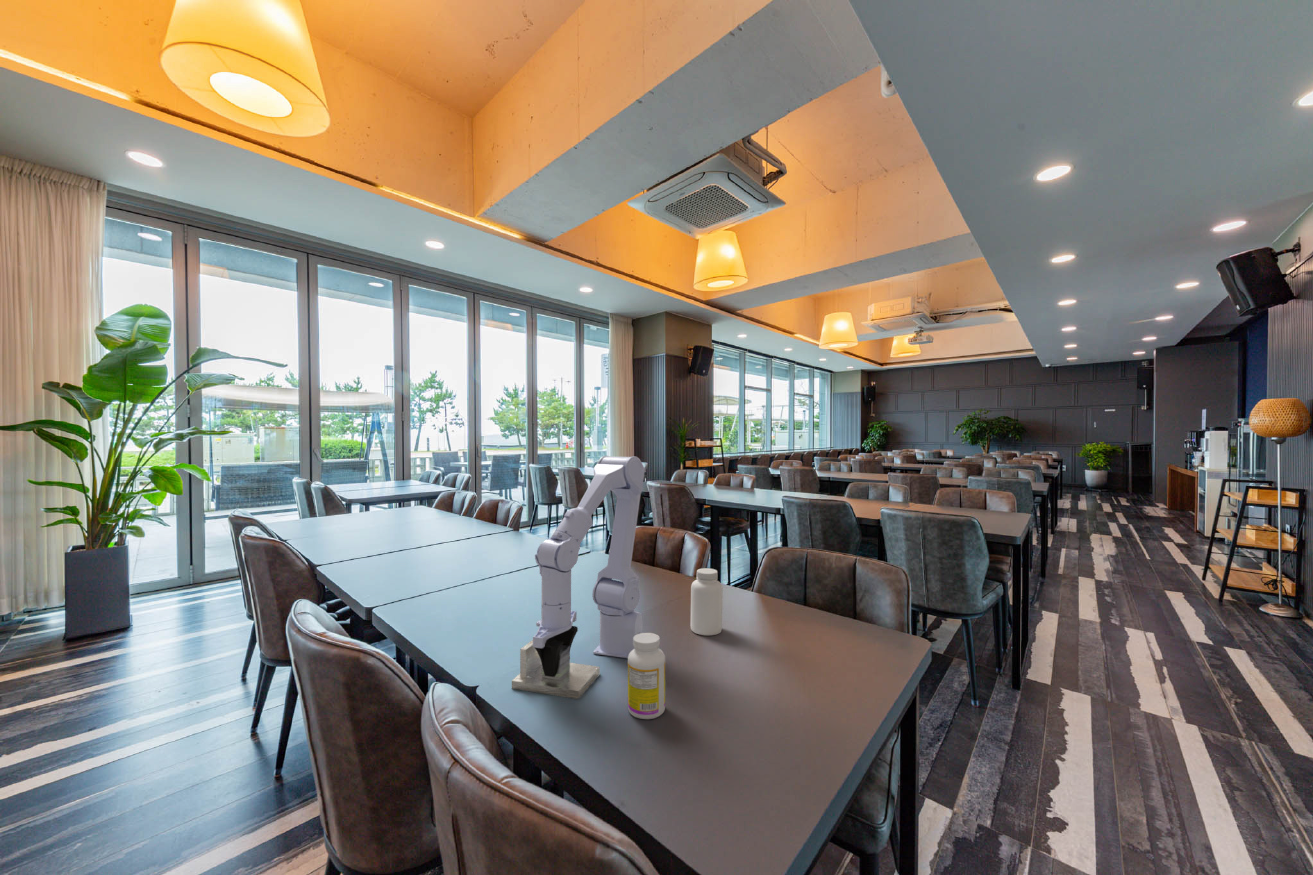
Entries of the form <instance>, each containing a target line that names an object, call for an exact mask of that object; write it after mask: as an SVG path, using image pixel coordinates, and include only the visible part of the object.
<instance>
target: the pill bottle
mask: <svg viewBox="0 0 1313 875" xmlns="http://www.w3.org/2000/svg"><path fill="white" fill-rule="evenodd" d="M718 575H719V574H718V570H717V569H714V568H708V567H707V568H706V567H705V568H703V567H702V568H699V569H697V570H696V579H695V580H694V581H692V583H691V586H690V624H689V625H690V630H691V631H692V632H693V633H695V634H698V635H700V636H716V635H719V634H720V633H721V632H722V630H723V629H722V628H723V597H724V596H723V591H724V589H723V587H724V586H723V585H722V583H721V582H720V581H719V580H718V579H719V578H718Z"/></svg>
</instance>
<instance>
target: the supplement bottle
mask: <svg viewBox="0 0 1313 875" xmlns="http://www.w3.org/2000/svg"><path fill="white" fill-rule="evenodd" d="M660 641H661V638H660V636H659V635H658V634H656V633H653V632H642V633H640V634H637V635H635V636H634V638H633V645H634V648H635V649H633V650H632V651H631V652H630V653H629V656H628V658H627V709H628V712H629V714H631V715H632V716H633V717H634V718H636V719H640V720H653V719H656V718H659V717H660V716H661V715H663V713H664V712H665V710H666V655H665V653H664V652H663V650H662V649H661V648H660V645H661V642H660Z"/></svg>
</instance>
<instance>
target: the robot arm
mask: <svg viewBox="0 0 1313 875" xmlns="http://www.w3.org/2000/svg"><path fill="white" fill-rule="evenodd" d="M645 470H646V468H645V466H644V464H643V463H642V460H641V459H640V458H639V457H638V456H633V455H632V456H616V455H615V456H612V455H610V456H609V455H602V456H601V457H600V458H599V459H598V460H597V463H596V465H595V466H594V467H593V475H594V476H593V478H592V480H591V481H590V483H589V485H588V487H587V489H586V491H585V492H584V494H583V496H582V498H581V499H580V502H579V504H578V505H577V507H573V508H570V509H568V510H567V511H566V512H565V513H564V514H563V515H564V516H563V518H562V520H561V521H560V522H559V524H558V525H557V527H556V529H555V530H554V532H553V533H552V534H551V537H550V538H547V539H545V540H544V541H543V542H541V543H540V544H539V546H538V547H537V550H536V554H534V560H535V562H536V564H537V566H538V567H539V575H540V576H541V608H540V609H541V619H539V620H538V621H536V623H535V626H536V627H538V629H537V631H536V633H535V635H533V637H532V640H533V647H534V648H535V649H536V651H537V652H538V654H539V657H540V659H541V663H542V667H543V671H544V675H545V676H550V677H555V676H556V672H557V666H558V658H559V653H560V650H561V647H562V645H566V646H570V650H571V648H572V644H573V642H574V639H575V637H576V634H577V632H578V631H579V628H578V626H576V625H573V623H575V622H576V621H577V611H576V610H572V569H573V568H574V567H575V565H576V564H577V563H578V559H579V552H580V549H581V543H582V541H583V540H584V538H585V536H586V535H587V534H588V532H589V530H590V529H591V527H592V526H593V519H592V515H593V514H594V513H595V511H596V510H597V509H598V507H599V506H600V505H601V503H602V502H603V500H605V498H606V497H607V495H608V493H609V492H610V491H611V492H613V494H614V495H615V496H616V504H615V505H616V506H615V510H614V511H615V512H614V519H613V527H612V530H611V531H612V533H611V539H610V545H609V553H608V559H607V565H606V566H604V568H602V569H601V570H599V571H598V573H597V577H596V582H595V583H594V586H593V588H592V600H593V602H594V603H595V605H597V610H599V645H597V647H595V649H594V650H593V651H592V653H593V654H594V655H602V656H609V657H617V658H624V659H628V656H629V653H630V652H631V651H632V650H633V649H635V648H634V645H633V638H634V636H635V635H637V634H640V633H643V626H644V624H643V615H642V613H641V612H639V611H635V609H636V608H637V606H638V604H639V602H640V596H641V595H640V589H639V588H640V586H639V584H640V577H639V576H638V575H637V574H636V573H635V572H634V571H633V569H632V568H631V566H632V560H633V552H634V545H635V537H636V532H637V531H636V530H637V525H638V524H637V523H638V516H639V510H640V501H641V494H642V493H643V487H644V486H643V484H644V479H645Z"/></svg>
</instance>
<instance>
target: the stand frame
mask: <svg viewBox="0 0 1313 875" xmlns="http://www.w3.org/2000/svg"><path fill="white" fill-rule="evenodd" d="M519 653H520V654H519V656H520V657H519V658H520V659H519V660H520V662H519V663H520V665H519V667H520V668H519V674H517V675H516V676H515V677H514V678H513V679H512V680H511V689H513V690H518V691H519V690H520V691H525V692H530V693H531V692H532V693H538V694H543V695H544V694H545V695H550V696H555V697H556V696H557V697H562V698H569V699H574V700H579V699H580V698H581V697H582V696H583V695H584V694H585V692H587V690H588V689H589V688H590V686H592V684H593V683H594V682H595V681H596V680H597V678H598V677H599V676H600V674H601V671H600V668H601V667H600V666H598V665H597V666H596V665H590V664H582V663H575V662H570V671H569V672H568V673H567V674H566V675H565V676H564V677H563V678H562V680H561V681H560V680H553V679H546V678H542V674H541V671H542V666H541V659H540V657H539V654H538V652H537V651H536V649H535V648H534V647H533V639H532V640H530V641H529V642H528V643H526V645H523V647H521V648H520V650H519Z"/></svg>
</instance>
